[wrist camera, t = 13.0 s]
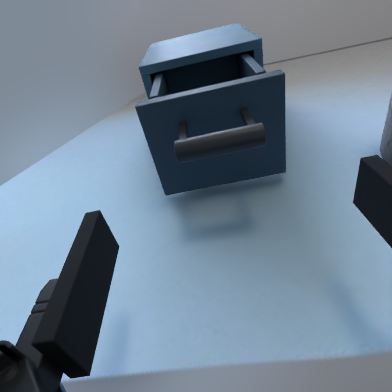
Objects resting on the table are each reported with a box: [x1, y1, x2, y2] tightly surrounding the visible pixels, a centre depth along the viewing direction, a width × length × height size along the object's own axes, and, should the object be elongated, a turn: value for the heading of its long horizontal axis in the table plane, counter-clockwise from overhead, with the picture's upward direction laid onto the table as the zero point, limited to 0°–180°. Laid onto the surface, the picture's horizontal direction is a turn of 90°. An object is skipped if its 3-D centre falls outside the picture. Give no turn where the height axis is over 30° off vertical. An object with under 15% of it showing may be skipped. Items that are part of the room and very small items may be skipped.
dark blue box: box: [139, 23, 263, 99], centre depth 37 cm, size 15×13×11 cm
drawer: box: [135, 52, 286, 195], centre depth 27 cm, size 19×12×9 cm, turn 3°
